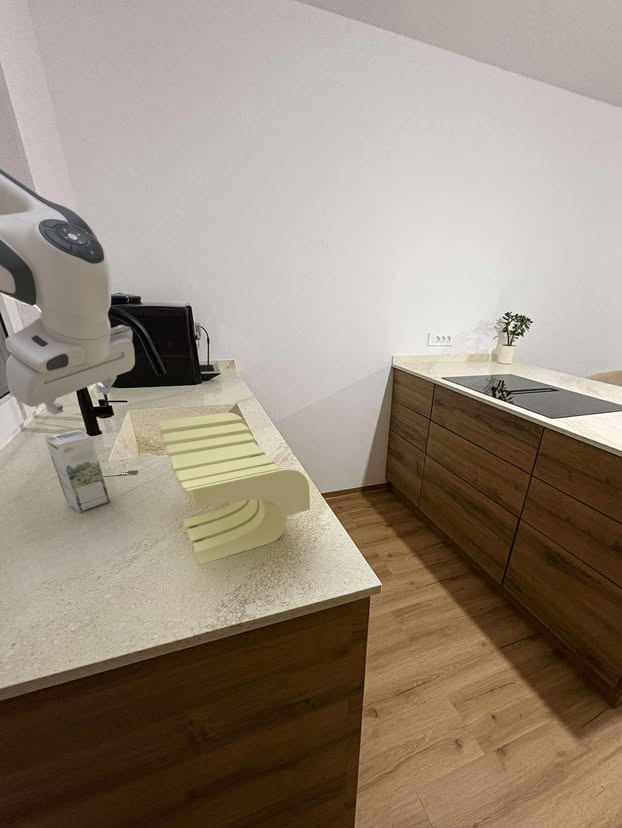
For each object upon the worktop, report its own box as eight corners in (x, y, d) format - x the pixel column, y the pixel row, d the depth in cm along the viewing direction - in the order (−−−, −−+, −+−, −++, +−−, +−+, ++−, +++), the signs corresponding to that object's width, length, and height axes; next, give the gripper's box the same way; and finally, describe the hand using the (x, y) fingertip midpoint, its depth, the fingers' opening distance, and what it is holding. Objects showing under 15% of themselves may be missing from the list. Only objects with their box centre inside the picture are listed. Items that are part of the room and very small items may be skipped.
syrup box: (97, 493, 81) (77, 428, 75) (111, 502, 78) (91, 435, 72) (67, 504, 77) (42, 436, 71) (80, 514, 74) (56, 443, 68)
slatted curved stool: (311, 562, 64) (308, 465, 56) (211, 597, 56) (192, 490, 48) (252, 487, 86) (244, 410, 78) (175, 505, 78) (158, 421, 70)
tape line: (77, 478, 87) (77, 478, 87) (80, 474, 89) (80, 474, 89) (136, 474, 90) (136, 473, 90) (138, 470, 92) (138, 470, 92)
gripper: (118, 312, 69) (116, 372, 79) (-9, 342, 54) (7, 412, 63) (146, 333, 69) (140, 391, 78) (27, 369, 54) (38, 435, 63)
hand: (80, 401), depth 71 cm, fingers open, 8 cm apart
